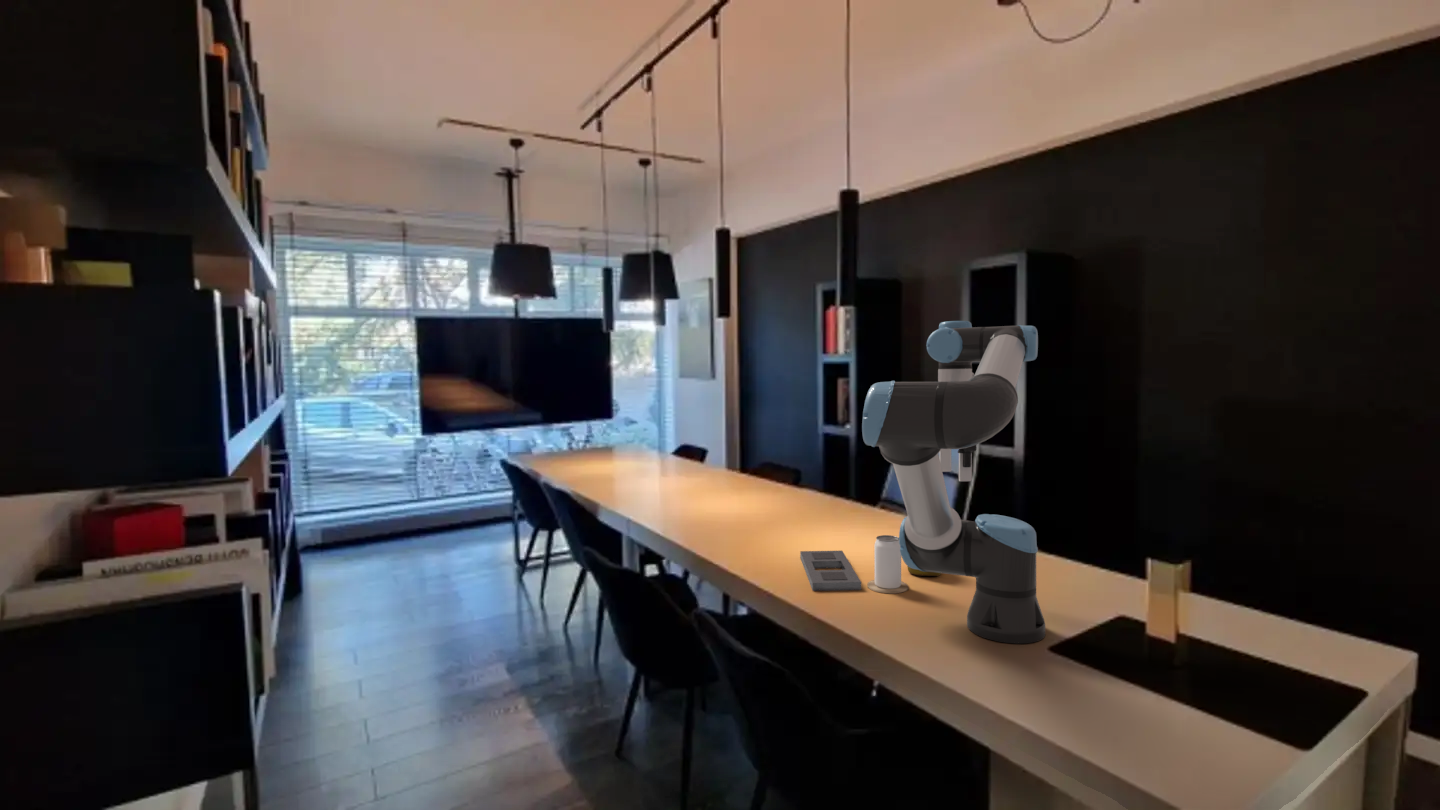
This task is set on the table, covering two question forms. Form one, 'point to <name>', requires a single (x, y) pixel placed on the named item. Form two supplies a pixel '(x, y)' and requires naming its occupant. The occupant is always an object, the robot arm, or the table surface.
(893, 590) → the coaster
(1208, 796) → the table surface
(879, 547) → the can
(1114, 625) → the table surface
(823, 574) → the panel
